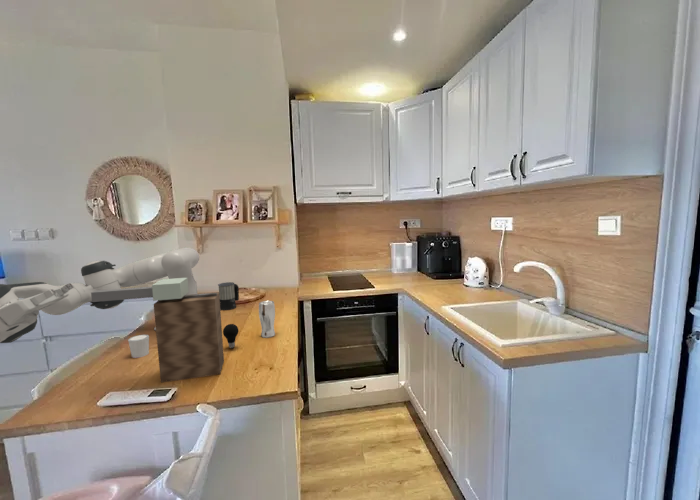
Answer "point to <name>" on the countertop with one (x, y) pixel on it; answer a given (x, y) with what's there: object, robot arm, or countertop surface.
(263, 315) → the beer glass
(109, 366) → the countertop surface
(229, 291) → the milk frother
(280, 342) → the countertop surface
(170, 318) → the walnut stand
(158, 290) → the grey mallet
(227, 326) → the light bulb
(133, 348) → the white short cylinder
